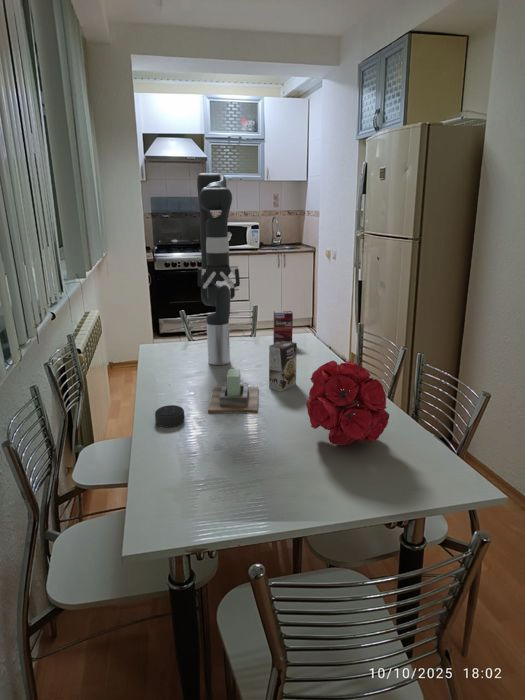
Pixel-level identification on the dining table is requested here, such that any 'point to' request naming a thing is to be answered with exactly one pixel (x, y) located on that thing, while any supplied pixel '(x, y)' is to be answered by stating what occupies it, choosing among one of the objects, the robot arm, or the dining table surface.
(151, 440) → the dining table surface
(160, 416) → the smart speaker
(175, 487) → the dining table surface
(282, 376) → the coffee box
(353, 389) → the bouquet
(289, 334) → the supplement box
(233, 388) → the keyed block
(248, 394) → the keyed holder
